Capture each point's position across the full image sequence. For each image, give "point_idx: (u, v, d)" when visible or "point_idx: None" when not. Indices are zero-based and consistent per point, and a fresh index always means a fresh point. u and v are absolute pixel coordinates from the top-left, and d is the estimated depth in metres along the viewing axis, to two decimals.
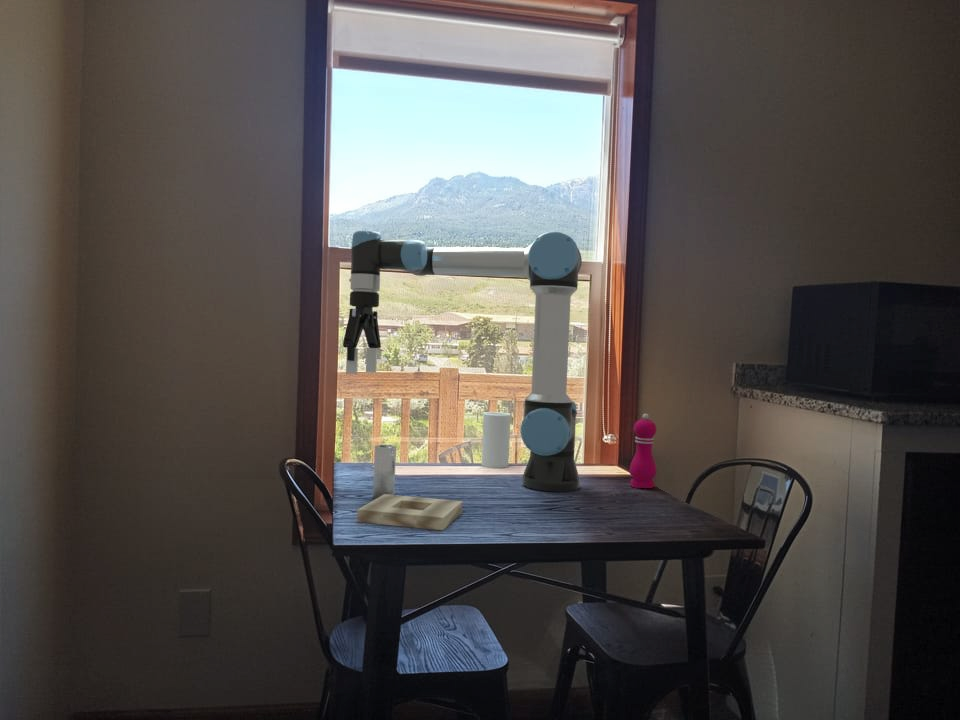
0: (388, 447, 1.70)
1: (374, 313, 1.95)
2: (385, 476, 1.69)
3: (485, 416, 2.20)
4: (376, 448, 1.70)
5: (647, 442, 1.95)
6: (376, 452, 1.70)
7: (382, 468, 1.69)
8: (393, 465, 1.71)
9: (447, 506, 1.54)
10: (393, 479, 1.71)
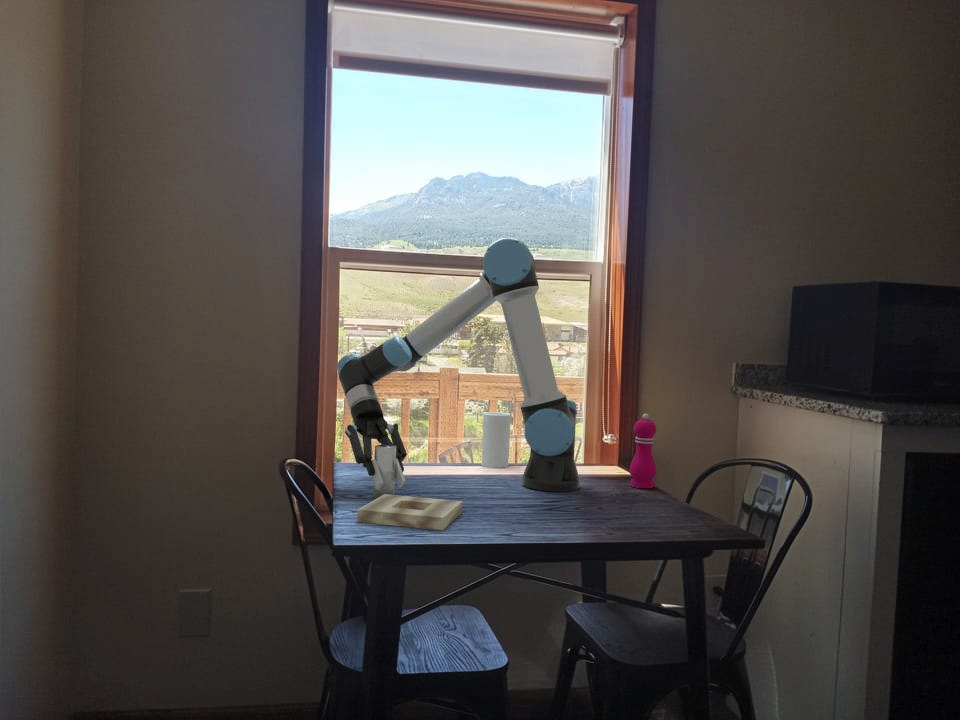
0: (388, 447, 1.70)
1: (393, 425, 1.81)
2: (385, 476, 1.69)
3: (485, 416, 2.20)
4: (376, 448, 1.70)
5: (647, 442, 1.95)
6: (376, 452, 1.70)
7: (382, 468, 1.69)
8: (393, 465, 1.71)
9: (447, 506, 1.54)
10: (393, 479, 1.71)
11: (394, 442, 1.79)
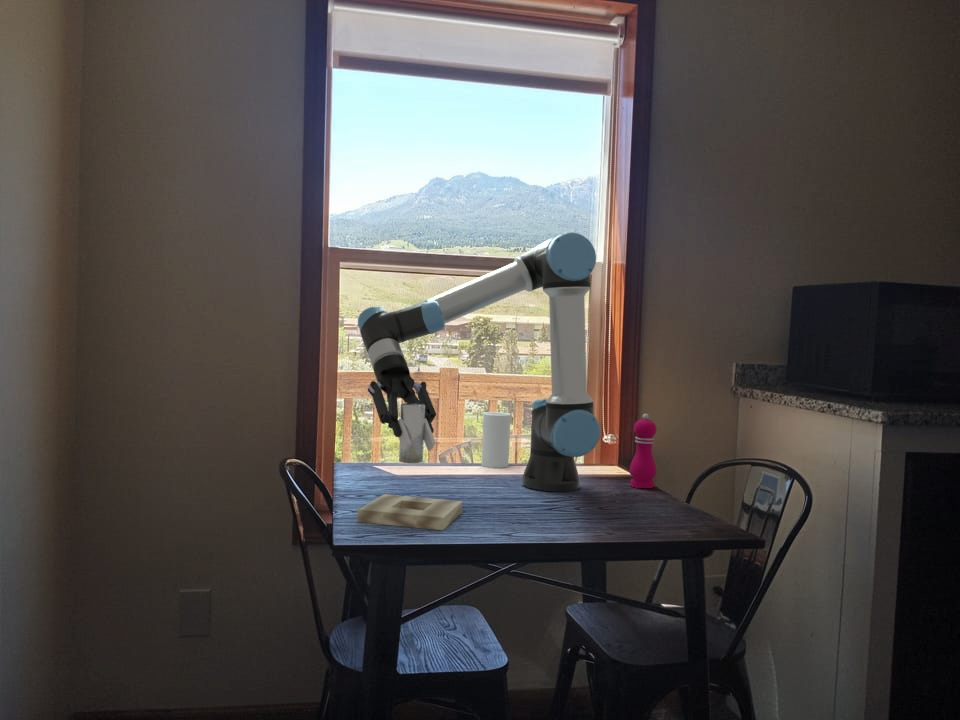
0: (416, 405, 1.52)
1: None
2: (413, 437, 1.52)
3: (485, 416, 2.20)
4: (403, 406, 1.52)
5: (647, 442, 1.95)
6: (403, 411, 1.52)
7: (409, 428, 1.51)
8: (422, 425, 1.53)
9: (447, 506, 1.54)
10: (422, 441, 1.53)
11: (422, 402, 1.61)
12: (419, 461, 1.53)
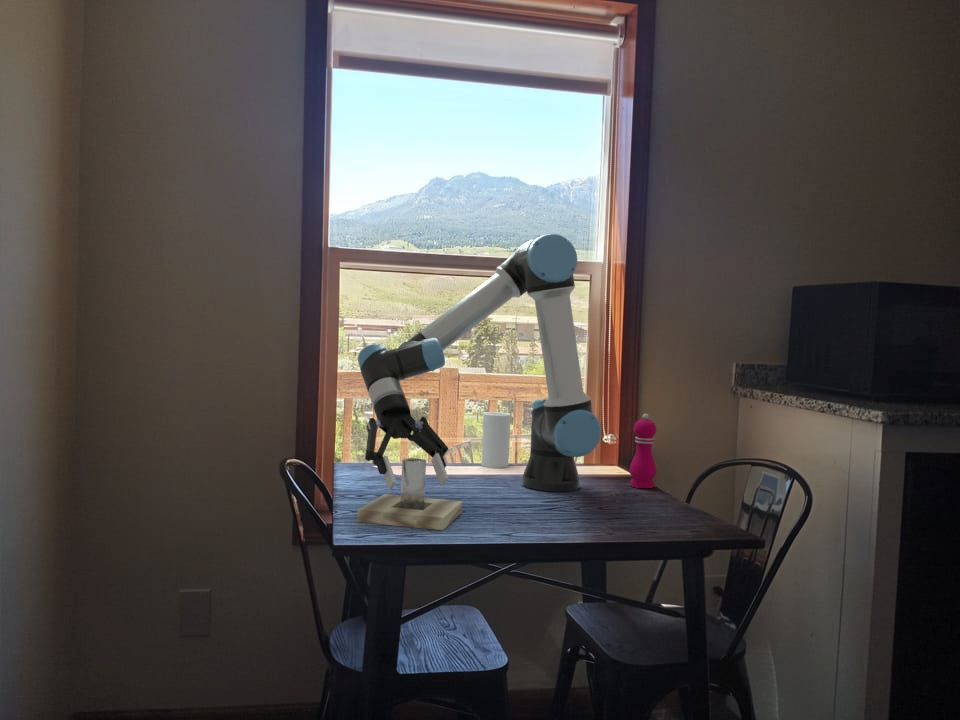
0: (417, 461, 1.52)
1: (420, 419, 1.63)
2: (414, 494, 1.51)
3: (485, 416, 2.20)
4: (404, 462, 1.52)
5: (647, 442, 1.95)
6: (404, 467, 1.52)
7: (410, 485, 1.51)
8: (423, 481, 1.53)
9: (447, 506, 1.54)
10: (423, 497, 1.53)
11: (428, 438, 1.62)
12: None
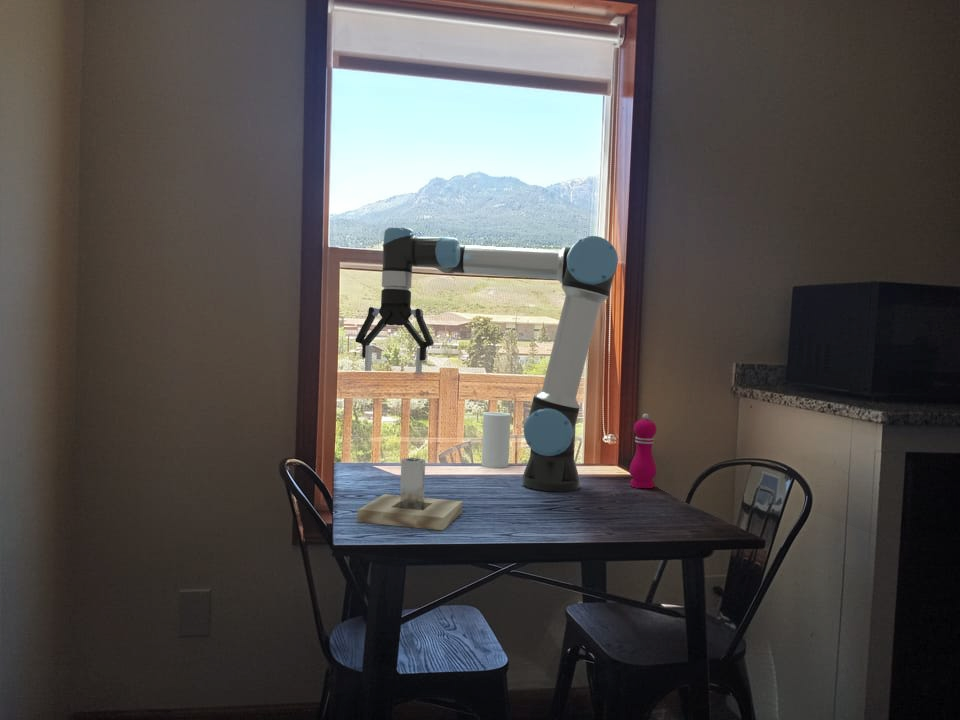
0: (417, 461, 1.52)
1: None
2: (414, 494, 1.51)
3: (485, 416, 2.20)
4: (403, 462, 1.52)
5: (647, 442, 1.95)
6: (403, 467, 1.52)
7: (410, 485, 1.51)
8: (422, 481, 1.53)
9: (447, 506, 1.54)
10: (422, 497, 1.53)
11: None
12: None
